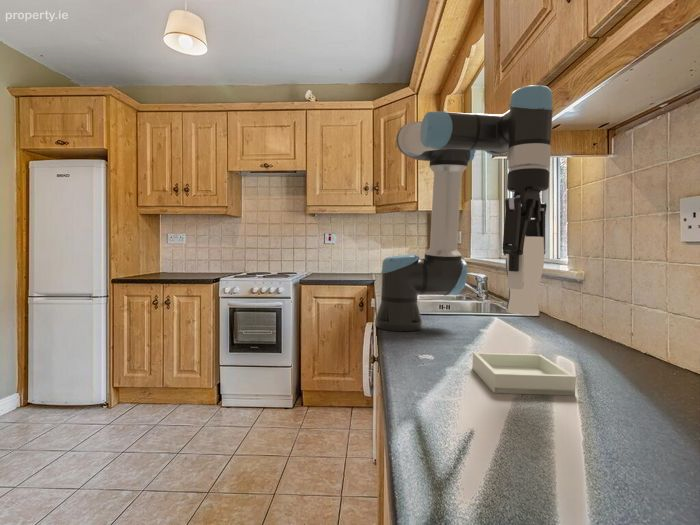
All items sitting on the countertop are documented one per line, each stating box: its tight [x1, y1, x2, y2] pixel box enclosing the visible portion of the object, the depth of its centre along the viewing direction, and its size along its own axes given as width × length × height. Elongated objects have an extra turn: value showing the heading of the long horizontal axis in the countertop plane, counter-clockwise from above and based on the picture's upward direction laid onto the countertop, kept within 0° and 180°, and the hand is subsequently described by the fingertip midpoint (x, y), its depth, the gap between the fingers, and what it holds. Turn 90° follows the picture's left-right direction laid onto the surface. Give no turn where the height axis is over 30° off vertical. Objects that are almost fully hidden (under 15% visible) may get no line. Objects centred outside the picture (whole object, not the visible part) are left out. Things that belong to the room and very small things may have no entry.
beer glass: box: [505, 235, 545, 316], centre depth 80 cm, size 7×7×15 cm
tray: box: [472, 352, 577, 396], centre depth 81 cm, size 15×15×4 cm
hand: (523, 287), depth 81 cm, fingers closed on beer glass, 7 cm apart
